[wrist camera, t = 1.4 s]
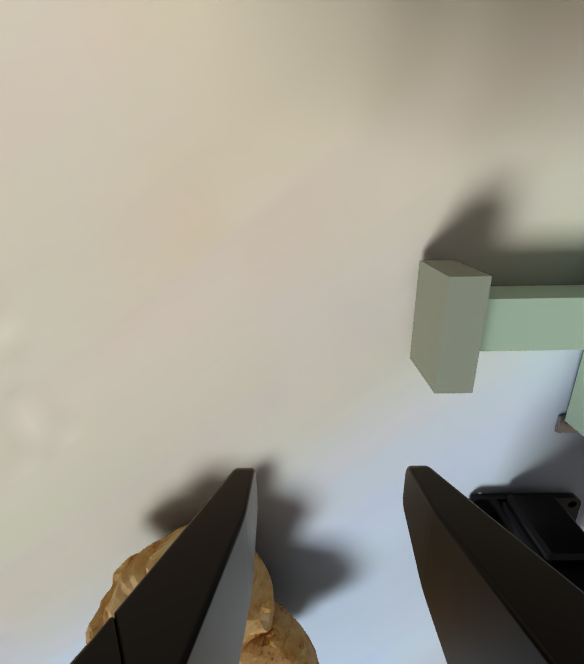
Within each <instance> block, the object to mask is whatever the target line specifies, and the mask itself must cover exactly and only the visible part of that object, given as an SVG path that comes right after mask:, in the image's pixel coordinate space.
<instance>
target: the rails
mask: <svg viewBox="0 0 584 664" xmlns="http://www.w3.org/2000/svg"><path fill="white" fill-rule="evenodd" d="M565 418H566V415H559V416H558V420H557V424H556V427H555V431H556V432H557V433H571V432H578V431H576V430H575V429H574V428H573V427H572V426H570V425H569V424H568V423H567V422H566V421H565Z"/></svg>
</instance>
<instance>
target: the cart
mask: <svg viewBox="0 0 584 664" xmlns="http://www.w3.org/2000/svg"><path fill="white" fill-rule="evenodd" d="M491 280H492V276H490V275H488V274H486V273H483V272H481V271H479V270H476V269H474V268H472V267H469V266H467V265H465V264H462V263H460V262H458V261H456V260H420V262H419V272H418V282H417V292H416V302H415V312H414V322H413V332H412V342H411V352H410V359H411V360H412V362H413V363H414V365H415V366H416V368H417V369H418V370H419V372H420V373H421V375H422V376H423V378H424V379H425V380H426V382H427V383H428V385H429V386H430V388H431V389H432V391H433V392H434V393H472V392H473V386H474V380H475V374H476V368H477V362H478V357H479V351H526V350H584V285H544V286H491ZM565 421H566V422H567V423H568V424H569V425H570V426H572V427H573V428H574V429H575V430H576V431H578V432H579V433H580V434H581V435H582V436H583V437H584V352H583V356H582V359H581V363H580V367H579V370H578V374H577V378H576V381H575V385H574V388H573V392H572V396H571V399H570V403H569V407H568V410H567V414H566V418H565Z"/></svg>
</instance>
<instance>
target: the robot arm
mask: <svg viewBox="0 0 584 664" xmlns="http://www.w3.org/2000/svg"><path fill="white" fill-rule="evenodd" d="M479 502H480V503H479ZM580 505H581V501H580V500H579V499H578V497H577V496H576V495H575V494H573V493H522V494H475V495H473V496H471V497H470V499H468V498H467V497H466V496H464V495H463V494H462V493H461V492H459V491H458V490H457V489H456V488H455V487H453V486H452V485H451V484H450V483H448V482H447V481H446V480H445V479H443V478H442V477H441V476H440V475H439V474H437V473H436V472H435V471H434V470H432V469H431V468H430V467H428V466H409V467H408V468H407V470H406V474H405V483H404V493H403V506H404V512H405V516H406V521H407V525H408V529H409V534H410V538H411V542H412V547H413V551H414V556H415V560H416V564H417V569H418V573H419V577H420V581H421V585H422V589H423V592H424V596H425V599H426V602H427V605H428V608H429V611H430V614H431V617H432V620H433V623H434V626H435V629H436V632H437V635H438V638H439V641H440V643H441V646H442V649H443V652H444V655H445V658H446V661H447V664H584V531H583V530H582V529H581V528H580V526H579V525H578V524H577V523H576V522H575V521H576V517H577V514H578V511H579V508H580ZM257 512H258V497H257V482H256V471H255V469H254V468H236V469H234V470H233V471H232V473H231V474H230V475H229V476H228V477H227V479H226V480H225V481H224V482H223V483H222V485H221V486H220V487H219V488H218V489H217V490H216V492H215V493H214V494H213V495H212V496H211V498H210V499H209V500H208V501H207V502H206V504H205V505H204V506H203V507H202V508H201V510H200V511H199V512H198V513H197V514H196V515H195V517H194V518H193V519H192V520H191V521H190V523H189V524H188V525H187V526H186V527H185V529H184V530H183V531H182V532H181V533H180V535H179V536H178V537H177V538H176V539H175V541H174V542H173V543H172V544H171V545H170V546H169V548H168V549H167V550H166V551H165V552H164V554H163V555H162V556H161V557H160V558H159V560H158V561H157V562H156V563H155V564H154V566H153V567H152V568H151V569H150V570H149V571H148V573H147V574H146V575H145V576H144V577H143V579H142V580H141V581H140V582H139V583H138V585H137V586H136V587H135V588H134V589H133V591H132V592H131V593H130V594H129V595H128V597H127V598H126V599H125V600H124V601H123V602H122V604H121V605H120V606H119V607H118V608H117V610H116V611H115V612H114V617H110V618H109V619H108V620H107V621H106V622H105V624H104V625H103V626H102V627H101V628H100V630H99V631H98V632H97V633H96V634H95V636H94V637H93V638H92V639H91V640H90V641H89V643H88V644H87V645H86V646H85V647H84V648H83V649H82V651H81V652H80V653H79V654H78V655H77V656H76V657H75V659H74V660H73V661H72V662H71V663H70V664H239V662H240V656H241V650H242V645H243V639H244V633H245V628H246V622H247V616H248V611H249V605H250V599H251V592H252V583H253V572H254V557H255V542H256V527H257Z"/></svg>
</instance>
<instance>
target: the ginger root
mask: <svg viewBox="0 0 584 664" xmlns="http://www.w3.org/2000/svg"><path fill="white" fill-rule="evenodd" d="M186 526H187V525H185V526H183V527H180V528H178V529H176V530H175V531H173V532H172V533H171V534H169V535H168V536H166V537H165V538H163V539H162V540H159V541H156V542H154V543H153V544H151V545H149V546H148V547H146V548H145V549H143V550H142V551H141V552H140V553H137V554H135V555H132V556H130V557H129V558H128V559H127V560H126V561H125V562H124V563H123V564H122V565H121V566H120V567H119V568H118V569H117V570H116V571H115V573H114V574H113V585H112V587H111V589H110V590H109V591H108V592H107V593H106V595H105V596H104V598H103V599H102V600H101V604H100V607H99V609H98V611H97V612H96V614H95V616H94V618H93V619H92V620H91V622H90V623H89V626H88V628H87V631H86V644H88V643H89V641H90V640H91V639H92V638H93V637H94V636H95V634H96V633H97V632H98V631H99V630H100V628H101V627H102V626H103V625H104V624H105V622H106V621H107V620H108V619H109V618H110V617H114V612H115V611H116V610H117V608H118V607H119V606H120V605H121V604H122V602H123V601H124V600H125V599H126V598H127V597H128V595H129V594H130V593H131V592H132V591H133V589H134V588H135V587H136V586H137V585H138V583H139V582H140V581H141V580H142V579H143V577H144V576H145V575H146V574H147V573H148V571H149V570H150V569H151V568H152V567H153V566H154V564H155V563H156V562H157V561H158V560H159V558H160V557H161V556H162V555H163V554H164V552H165V551H166V550H167V549H168V548H169V546H170V545H171V544H172V543H173V542H174V541H175V539H176V538H177V537H178V536H179V535H180V533H181V532H182V531H183V530H184V529H185V527H186ZM239 664H319V662H318V658H317V654H316V650H315V648H314V646H313V644H312V642H311V640H310V638H309V636H308V635H307V634H306V632H305V631H304V629H303V628H302V627H301V625H300V624H299V623H298V622H297V621H296V619H295V618H294V617H293V616H292V615H291V614H290V613H289V612H288V611H287V610H286V609H285V608H283V607H282V606H281V605H280V604H278V603H277V602H276V601H275V600H274V593H273V585H272V581H271V578H270V575H269V572H268V570H267V568H266V567H265V565H264V563H263V561H262V559H261V558H260V556H259V555H258V554H257V552H256V551H255V557H254V572H253V583H252V592H251V599H250V605H249V611H248V616H247V622H246V628H245V633H244V639H243V645H242V650H241V656H240V662H239Z"/></svg>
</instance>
